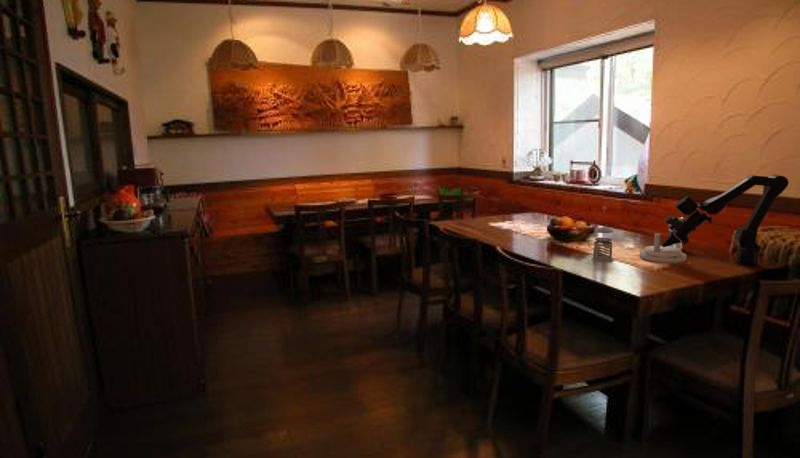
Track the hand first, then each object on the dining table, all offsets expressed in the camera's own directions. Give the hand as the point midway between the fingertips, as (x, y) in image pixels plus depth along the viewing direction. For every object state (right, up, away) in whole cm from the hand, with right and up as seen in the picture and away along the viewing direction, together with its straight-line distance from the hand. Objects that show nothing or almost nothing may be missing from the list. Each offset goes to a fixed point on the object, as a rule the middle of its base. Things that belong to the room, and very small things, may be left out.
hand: (662, 246), depth 219 cm
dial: (+3, -4, +5) cm, 7 cm away
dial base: (+3, -6, +6) cm, 9 cm away
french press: (-25, -7, +7) cm, 27 cm away
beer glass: (+19, -2, +24) cm, 31 cm away
